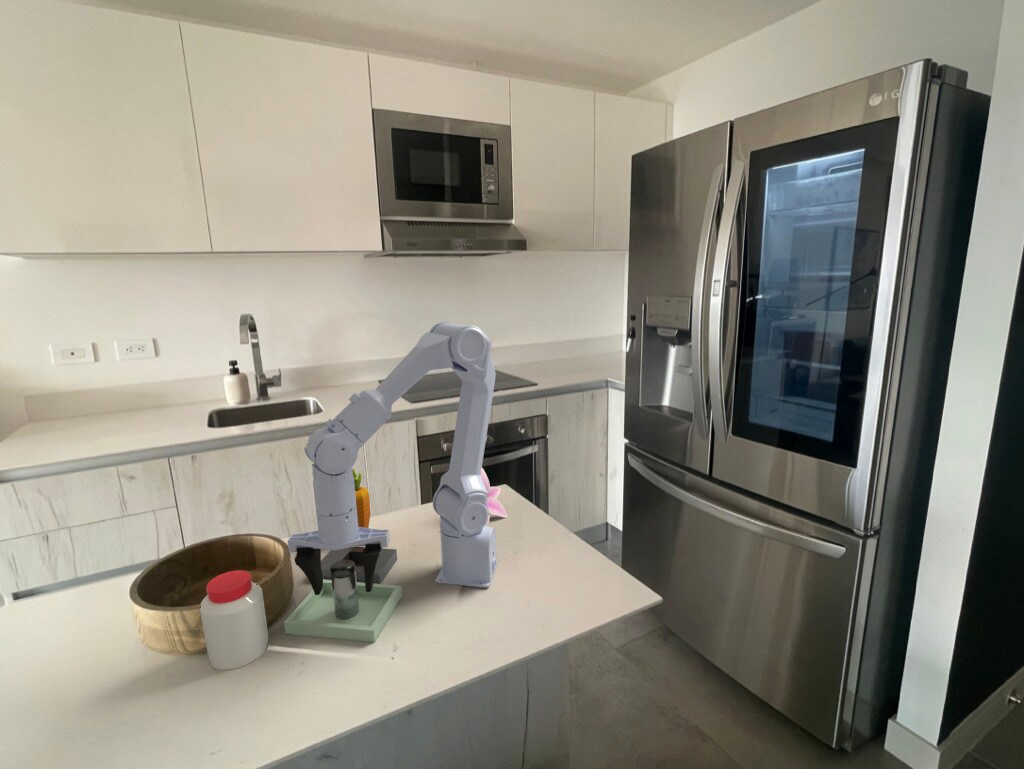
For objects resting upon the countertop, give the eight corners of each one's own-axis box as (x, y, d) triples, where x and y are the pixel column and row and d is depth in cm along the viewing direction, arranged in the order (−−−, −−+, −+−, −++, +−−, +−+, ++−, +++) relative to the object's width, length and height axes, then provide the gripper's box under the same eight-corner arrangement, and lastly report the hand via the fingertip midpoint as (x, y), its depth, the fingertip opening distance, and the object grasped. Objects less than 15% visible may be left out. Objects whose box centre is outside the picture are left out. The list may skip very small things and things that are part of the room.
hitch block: (397, 562, 97) (396, 549, 96) (380, 587, 89) (378, 573, 88) (336, 557, 99) (335, 545, 98) (314, 582, 91) (313, 568, 90)
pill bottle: (257, 624, 80) (248, 559, 78) (277, 649, 75) (268, 580, 72) (201, 650, 75) (189, 581, 73) (218, 679, 69) (206, 605, 67)
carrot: (369, 548, 102) (363, 476, 98) (344, 549, 102) (337, 476, 98) (376, 536, 106) (371, 466, 103) (352, 536, 106) (346, 466, 103)
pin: (360, 603, 84) (356, 558, 82) (357, 618, 80) (352, 571, 78) (337, 606, 83) (332, 560, 81) (333, 620, 80) (328, 573, 78)
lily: (454, 538, 107) (473, 504, 103) (440, 497, 116) (456, 464, 112) (503, 539, 113) (523, 508, 110) (486, 500, 122) (503, 470, 119)
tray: (402, 598, 86) (401, 585, 85) (375, 645, 75) (373, 630, 75) (323, 592, 88) (322, 579, 87) (285, 636, 77) (283, 622, 77)
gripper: (390, 494, 82) (396, 572, 85) (295, 498, 81) (304, 577, 84) (382, 514, 75) (388, 598, 78) (278, 519, 74) (289, 604, 77)
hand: (344, 589), depth 81 cm, fingers open, 7 cm apart
